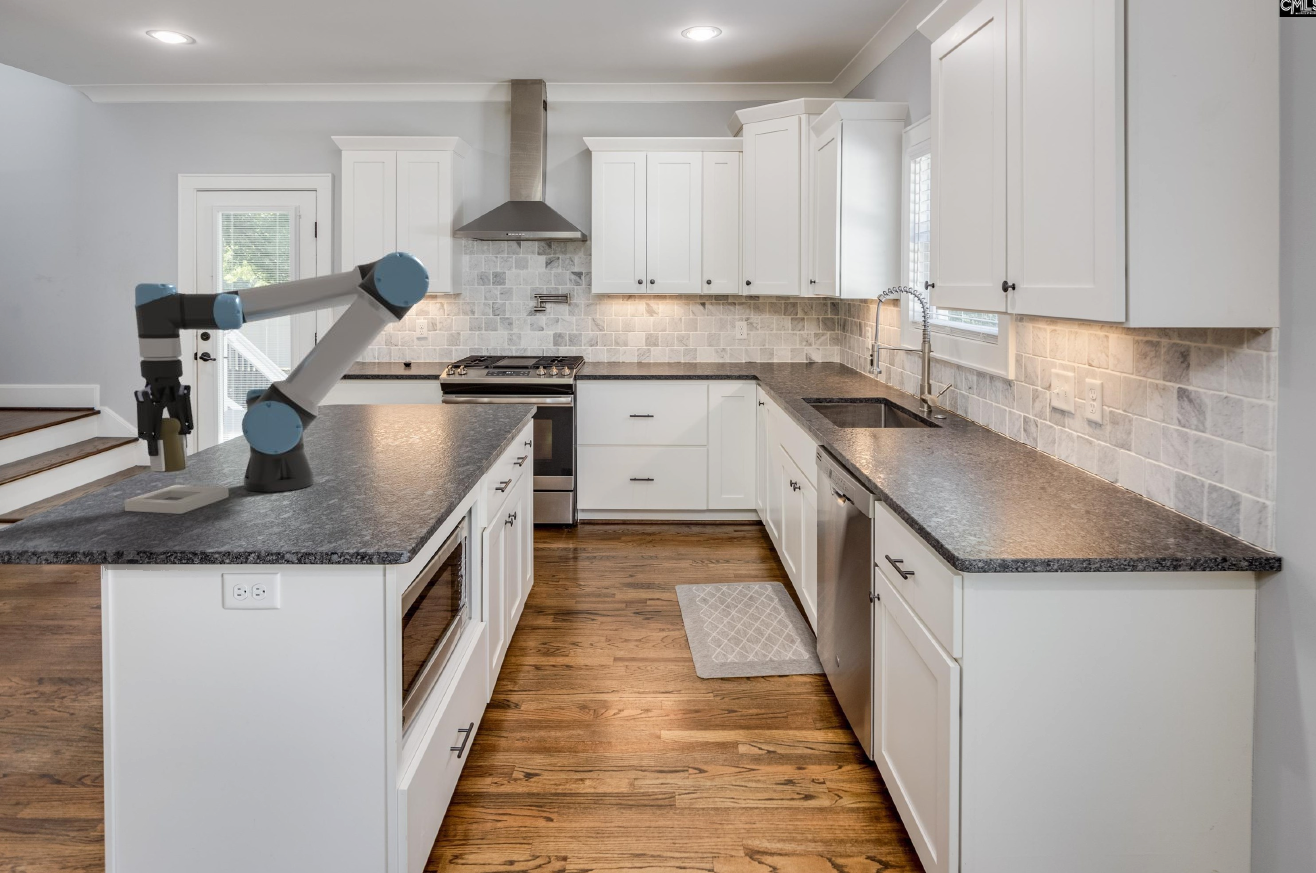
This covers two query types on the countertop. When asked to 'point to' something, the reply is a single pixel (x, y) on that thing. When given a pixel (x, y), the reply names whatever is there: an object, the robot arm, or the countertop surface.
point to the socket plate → (176, 499)
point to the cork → (171, 445)
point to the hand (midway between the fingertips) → (169, 467)
